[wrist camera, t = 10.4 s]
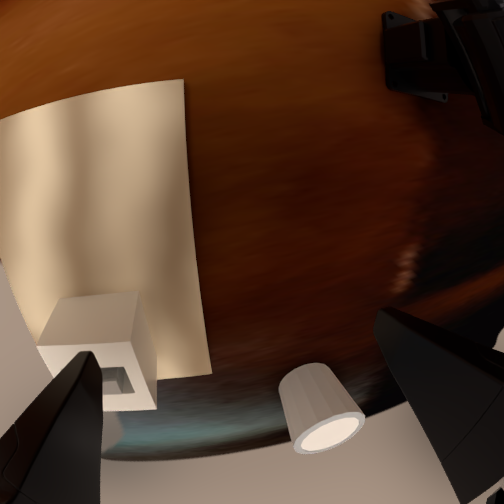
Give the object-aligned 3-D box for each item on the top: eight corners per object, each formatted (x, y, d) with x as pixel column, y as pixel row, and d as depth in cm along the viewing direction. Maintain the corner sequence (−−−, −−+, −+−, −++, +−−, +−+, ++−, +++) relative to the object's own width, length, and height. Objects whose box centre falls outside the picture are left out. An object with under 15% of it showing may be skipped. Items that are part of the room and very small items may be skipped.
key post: (125, 322, 19) (116, 381, 14) (129, 335, 20) (122, 394, 15) (87, 325, 19) (70, 381, 14) (92, 338, 19) (78, 394, 14)
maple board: (183, 82, 15) (183, 79, 14) (209, 361, 24) (212, 373, 23) (-13, 128, 13) (-25, 130, 11) (61, 370, 22) (57, 382, 20)
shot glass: (304, 407, 30) (326, 456, 24) (258, 394, 28) (277, 452, 21) (348, 368, 29) (379, 416, 23) (305, 349, 26) (336, 407, 20)
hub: (139, 290, 19) (130, 343, 14) (157, 357, 21) (156, 411, 17) (59, 298, 17) (34, 348, 13) (86, 361, 20) (74, 412, 15)
